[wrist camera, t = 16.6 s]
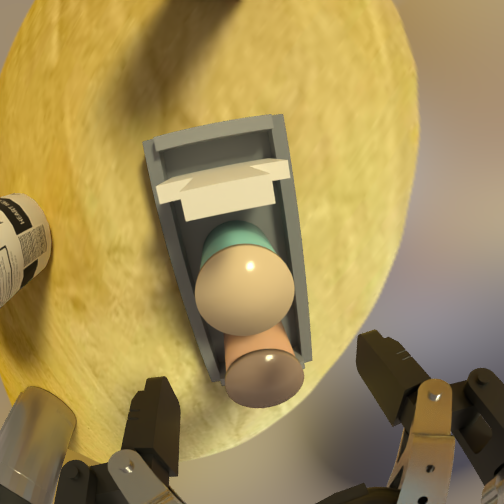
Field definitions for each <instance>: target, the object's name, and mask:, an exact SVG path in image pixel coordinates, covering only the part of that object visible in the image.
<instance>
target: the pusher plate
mask: <svg viewBox="0 0 504 504" xmlns="http://www.w3.org/2000/svg"><path fill="white" fill-rule="evenodd" d="M287 178H290V171H289V165H288V160H282V159H271V158H266V159H260V160H254V161H248V162H243V163H237V164H232V165H227V166H222V167H217V168H212V169H207V170H202V171H198V172H193V173H189V174H184V175H180V176H176V177H172V178H170V179H168V180H166V181H165V182H163V183H161V184H159V185H157V186H156V190H157V194H158V198H159V203H160V204H163V203H167V202H171V201H175V200H180V199H181V203H182V207H183V211H184V216H185V220H186V221H191V220H195V219H200V218H205V217H210V216H214V215H219V214H224V213H229V212H234V211H239V210H244V209H249V208H254V207H259V206H265V205H270V204H275V196H274V190H273V184H272V181H275V180H281V179H287Z"/></svg>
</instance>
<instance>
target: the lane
mask: <svg viewBox="0 0 504 504" xmlns="http://www.w3.org/2000/svg"><path fill="white" fill-rule="evenodd" d="M153 138H154V139H150V140H147V141H143V147H144V153H145V158H146V162H147V167H148V172H149V177H150V181H151V186H152V190H153V194H154V199H155V203H156V207H157V211H158V215H159V219H160V223H161V227H162V231H163V234H164V238H165V242H166V246H167V249H168V253H169V256H170V260H171V263H172V267H173V270H174V274H175V277H176V280H177V283H178V287H179V290H180V293H181V296H182V299H183V303H184V306H185V309H186V312H187V315H188V318H189V321H190V324H191V327H192V330H193V332H194V335H195V338H196V341H197V344H198V347H199V349H200V352H201V355H202V357H203V360H204V363H205V365H206V368H207V371H208V373H209V376H210V378H211V381H212V382H215V381H221V384H222V386H225V374H226V363H225V350H224V336H223V332H221V331H219V330H217V329H215V328H214V327H212V326H211V325H210V324H208V323H207V322H206V321H205V319H204V318H203V317H202V315H201V314H200V312H199V310H198V308H197V305H196V300H195V286H196V280H197V277H198V274H199V271H200V265H201V256H202V249H203V244H204V241H205V239H206V237H207V236H208V234H209V233H210V232H211V231H212V230H213V229H214V228H215V227H217V226H218V225H220V224H222V223H224V222H227V221H232V220H242V221H247V222H250V223H252V224H254V225H256V226H257V227H258V228H260V229H261V230H262V231H263V233H264V234H265V236H266V237H267V239H268V240H269V242H270V244H271V245H272V247H273V249H274V250H275V252H276V254H277V255H278V256H279V257H280V258H281V259H282V260H283V261H284V262H285V264H286V266H287V267H288V269H289V270H290V272H291V275H292V277H293V281H294V298H293V302H292V305H291V307H290V309H289V311H288V312H287V314H286V315H285V316H284V317H283V319H282V320H281V321H282V324H283V326H284V329H285V331H286V334H287V336H288V339H289V342H290V344H291V347H292V349H293V352H294V354H295V357H296V358H297V359H298V360H299V362H300V364H301V367H302V369H305V365H304V363H305V362H309V361H312V347H311V332H310V319H309V307H308V296H307V285H306V275H305V265H304V256H303V247H302V238H301V230H300V222H299V214H298V207H297V199H296V192H295V185H294V178H293V172H292V165H291V159H290V152H289V146H288V140H287V134H286V128H285V123H284V117H283V114H279V115H271V114H269V115H261V116H254V117H247V118H241V119H235V120H229V121H223V122H218V123H213V124H208V125H203V126H198V127H193V128H189V129H185V130H180V131H176V132H172V133H168V134H164V135H160V136H157V137H153ZM266 158H271V159H282V160H288V165H289V171H290V178H287V179H281V180H275V181H272V184H273V190H274V196H275V204H270V205H265V206H259V207H254V208H249V209H244V210H239V211H234V212H229V213H224V214H219V215H214V216H210V217H205V218H200V219H195V220H191V221H186V220H185V216H184V211H183V207H182V203H181V199H180V200H175V201H171V202H167V203H163V204H160V203H159V198H158V194H157V190H156V186H157V185H159V184H161V183H163V182H165V181H166V180H168V179H170V178H172V177H176V176H180V175H184V174H189V173H193V172H198V171H202V170H207V169H212V168H217V167H222V166H227V165H232V164H237V163H243V162H248V161H254V160H260V159H266Z"/></svg>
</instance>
